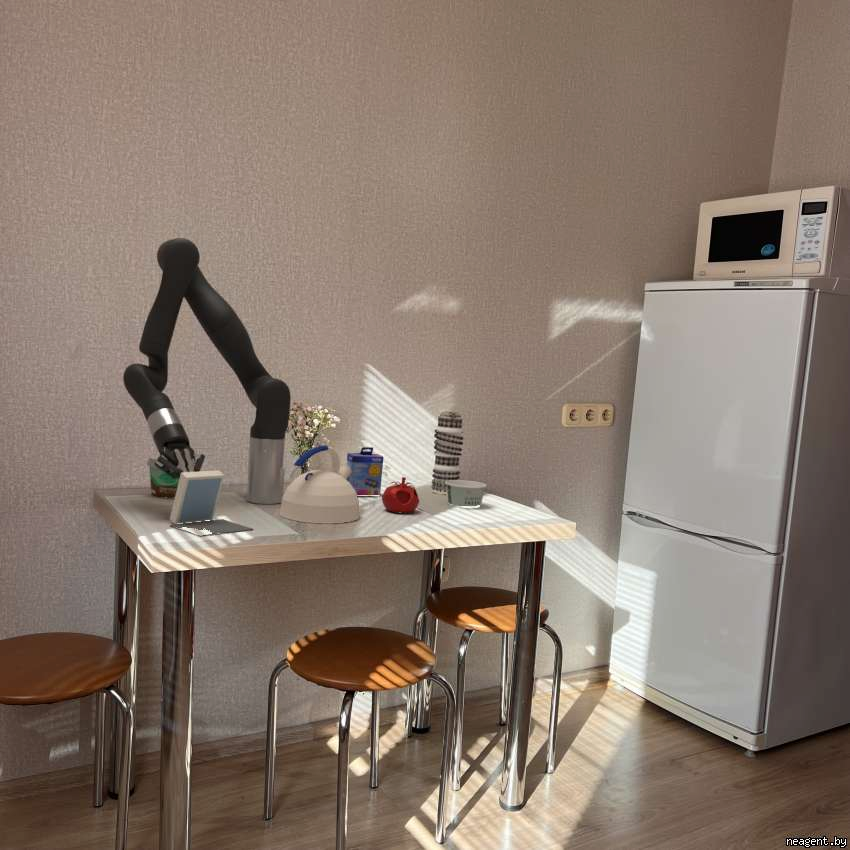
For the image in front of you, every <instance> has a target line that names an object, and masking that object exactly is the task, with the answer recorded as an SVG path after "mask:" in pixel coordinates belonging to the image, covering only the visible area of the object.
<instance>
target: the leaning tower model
mask: <svg viewBox="0 0 850 850" xmlns="http://www.w3.org/2000/svg"><path fill="white" fill-rule="evenodd" d="M437 418H438V420H437V426H436V429H434V435H433V437H434V438H435V440H434V441H433V443H434V446H433V449H434V450H435V451H434V452H433V455H434V456H435V459H434V464H433V469H432V472H433V474H431V475H432V476H431V477H432V478H433V479H432V480H431V490H436V491H440V492H441V491H442V492H447V484H446V483H445V482H446V481H449V480H460V476H459V475H460V474H461V472H460V458H461V457H462V455H463V454H462V453H461V452H462V451H463V448H462V447H460V446H462V445H464V442H463V440H464V439H465V438H464V437H463V436H462V434H463V420H464V418H463V417H462V414H461V413H459V412H455V411H442V412H441V413H440V414H439V415H438V416H437Z"/></svg>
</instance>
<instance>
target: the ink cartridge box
mask: <svg viewBox="0 0 850 850" xmlns="http://www.w3.org/2000/svg"><path fill="white" fill-rule="evenodd" d="M368 450H369V451H368ZM373 452H374V447H372V446H370V447H369V446H365V447H364V446H363V447H361V449H360V452H347V455H346V465H347V466H349V467H350V468H351V474H349V476H348V477H347V479H346V480H347V481H348V482H349V483H350V484H351V485H352V487H353V488H354V490H355V491H356V494H357V495H380V496H381V491H382V490H381V489H382V478H383V467H384V458H385V457H384V456H383V455H381V454H378V453H373Z"/></svg>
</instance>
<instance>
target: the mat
mask: <svg viewBox="0 0 850 850" xmlns="http://www.w3.org/2000/svg"><path fill="white" fill-rule="evenodd" d="M169 526H170V527H171V526H174V527H177V528H182V527H187V528H194V529H195V528H196V529H198V530H203V529H204V528H205V529H206V530H208V531H209V530H210V532H212V534H217V533H226V534H231V533H230V532H234V533H241V532H248V531H249V530H250V531H254V529H253V528H252V527H248V526H246V525H242V524H239V523H235V522H232V521H230V520H226V519H224V518H221V519H220V518H219V519H213V520H210V521H201V522H192V523H183V524H174V523H173V524H170V525H169ZM174 527H173V528H174ZM177 528H176V529H177ZM205 529H204V530H205Z"/></svg>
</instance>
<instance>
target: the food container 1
mask: <svg viewBox="0 0 850 850" xmlns="http://www.w3.org/2000/svg"><path fill="white" fill-rule="evenodd" d="M156 460H157V459H154V458H151V457H148V460H147V462H146V463H147V464H146V466H147V467H149V477H150V478H149V479H150V495H151V496H152V495H153V496H152V497H154V496H156V498H159V497H167V498H166V499H175V495H176V491H177V487H178V483H179V478H175V479H173V478H172V477H170V476H169V475H168V474H166V473H165V472H163V471H162V470H161V469H159V468H158V467H157V466H155V464H154V463H155V462H156ZM192 463H193V466H192V467H193V468H194V466H195V464H194V461H193V459H192ZM170 470H171V469H170ZM171 471H172V470H171ZM172 472H174V471H172ZM173 497H174V498H173Z"/></svg>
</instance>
